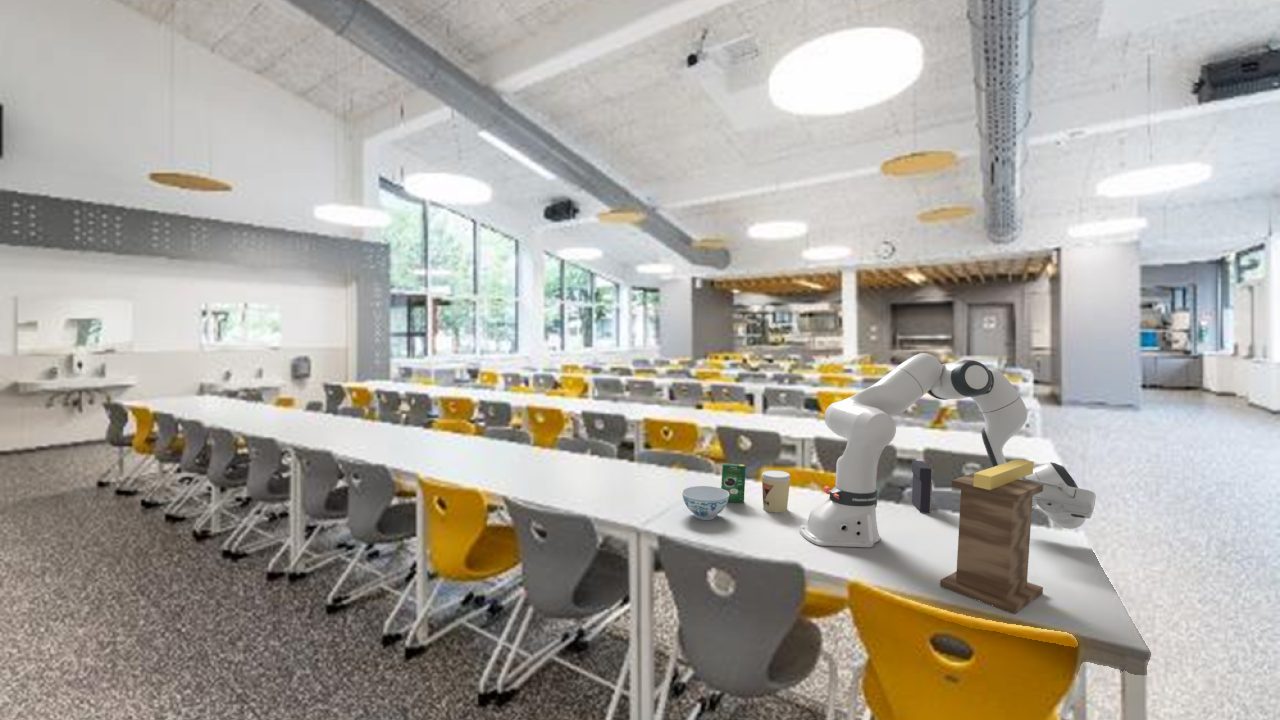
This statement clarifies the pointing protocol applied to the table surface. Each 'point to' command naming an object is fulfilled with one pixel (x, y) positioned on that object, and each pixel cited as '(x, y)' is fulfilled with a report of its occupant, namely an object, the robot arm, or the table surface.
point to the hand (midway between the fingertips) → (1040, 481)
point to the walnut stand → (994, 544)
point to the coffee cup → (775, 490)
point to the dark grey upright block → (921, 486)
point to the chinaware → (705, 501)
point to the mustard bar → (1003, 474)
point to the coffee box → (734, 481)
